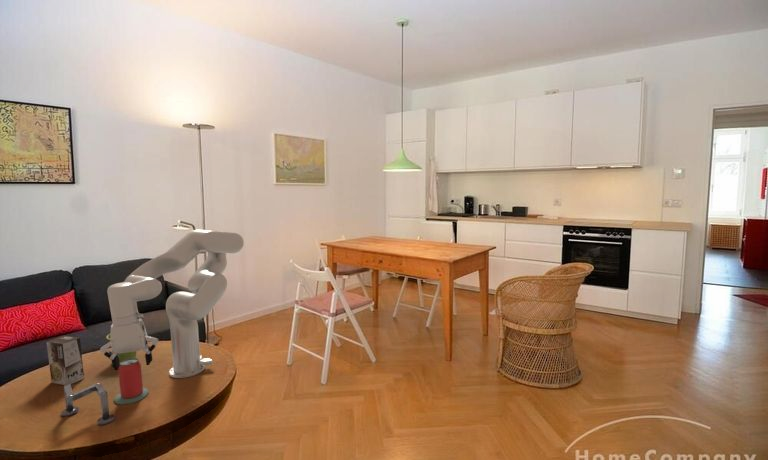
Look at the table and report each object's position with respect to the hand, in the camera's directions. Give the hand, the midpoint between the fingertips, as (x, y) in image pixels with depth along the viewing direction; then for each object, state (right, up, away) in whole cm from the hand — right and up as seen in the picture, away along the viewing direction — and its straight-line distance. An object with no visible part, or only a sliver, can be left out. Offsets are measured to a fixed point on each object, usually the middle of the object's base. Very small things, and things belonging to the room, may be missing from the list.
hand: (133, 366), depth 137 cm
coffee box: (-32, -10, +12) cm, 36 cm away
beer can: (0, -10, 0) cm, 10 cm away
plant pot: (-22, -8, +30) cm, 38 cm away
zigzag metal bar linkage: (-7, -12, -11) cm, 18 cm away
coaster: (0, -11, 0) cm, 11 cm away
